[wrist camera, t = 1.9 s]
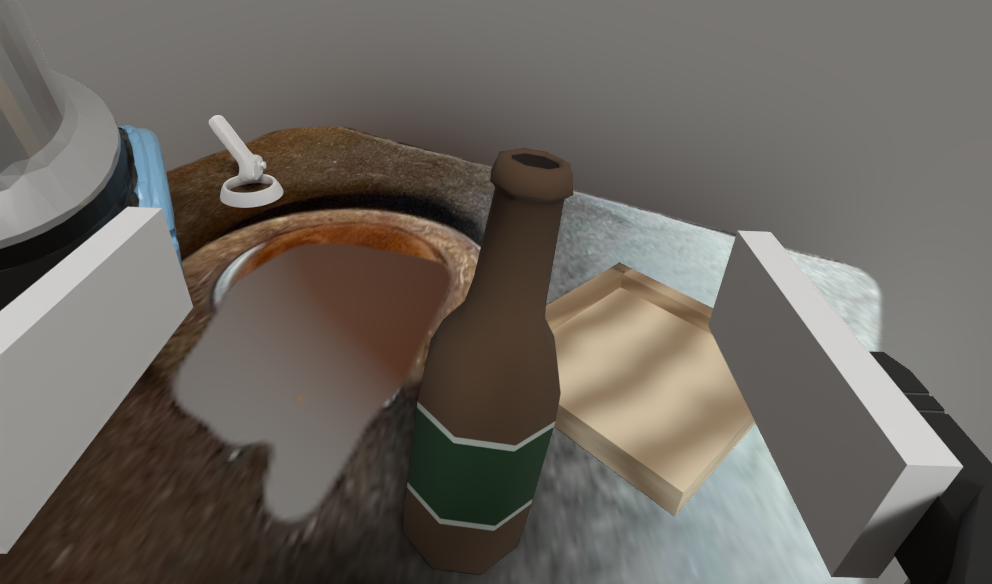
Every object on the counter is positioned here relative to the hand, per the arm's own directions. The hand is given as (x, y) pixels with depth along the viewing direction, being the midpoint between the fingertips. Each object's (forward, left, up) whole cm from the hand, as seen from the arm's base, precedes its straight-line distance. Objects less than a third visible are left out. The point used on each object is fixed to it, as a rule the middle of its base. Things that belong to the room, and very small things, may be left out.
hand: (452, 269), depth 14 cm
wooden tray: (-7, +27, -26) cm, 38 cm away
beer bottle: (-7, +7, -26) cm, 28 cm away
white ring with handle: (-61, +19, -26) cm, 69 cm away
